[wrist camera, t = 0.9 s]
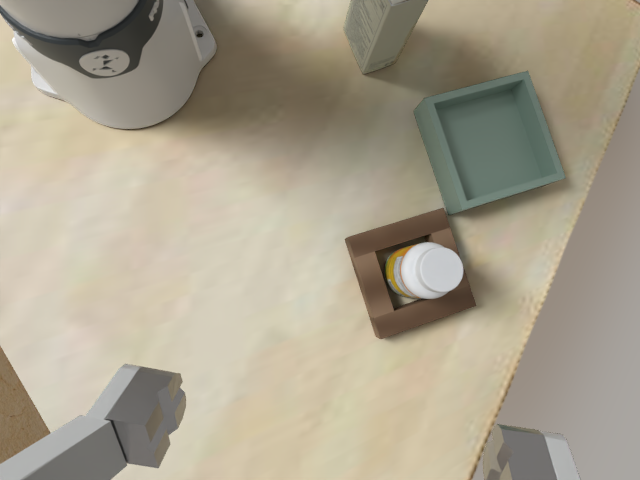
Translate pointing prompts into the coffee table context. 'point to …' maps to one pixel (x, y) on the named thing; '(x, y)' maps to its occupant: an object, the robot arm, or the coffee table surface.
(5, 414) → the model pyramid
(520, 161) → the tray
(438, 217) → the socket block
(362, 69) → the skincare box
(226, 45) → the coffee table surface
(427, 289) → the supplement bottle
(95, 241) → the coffee table surface
